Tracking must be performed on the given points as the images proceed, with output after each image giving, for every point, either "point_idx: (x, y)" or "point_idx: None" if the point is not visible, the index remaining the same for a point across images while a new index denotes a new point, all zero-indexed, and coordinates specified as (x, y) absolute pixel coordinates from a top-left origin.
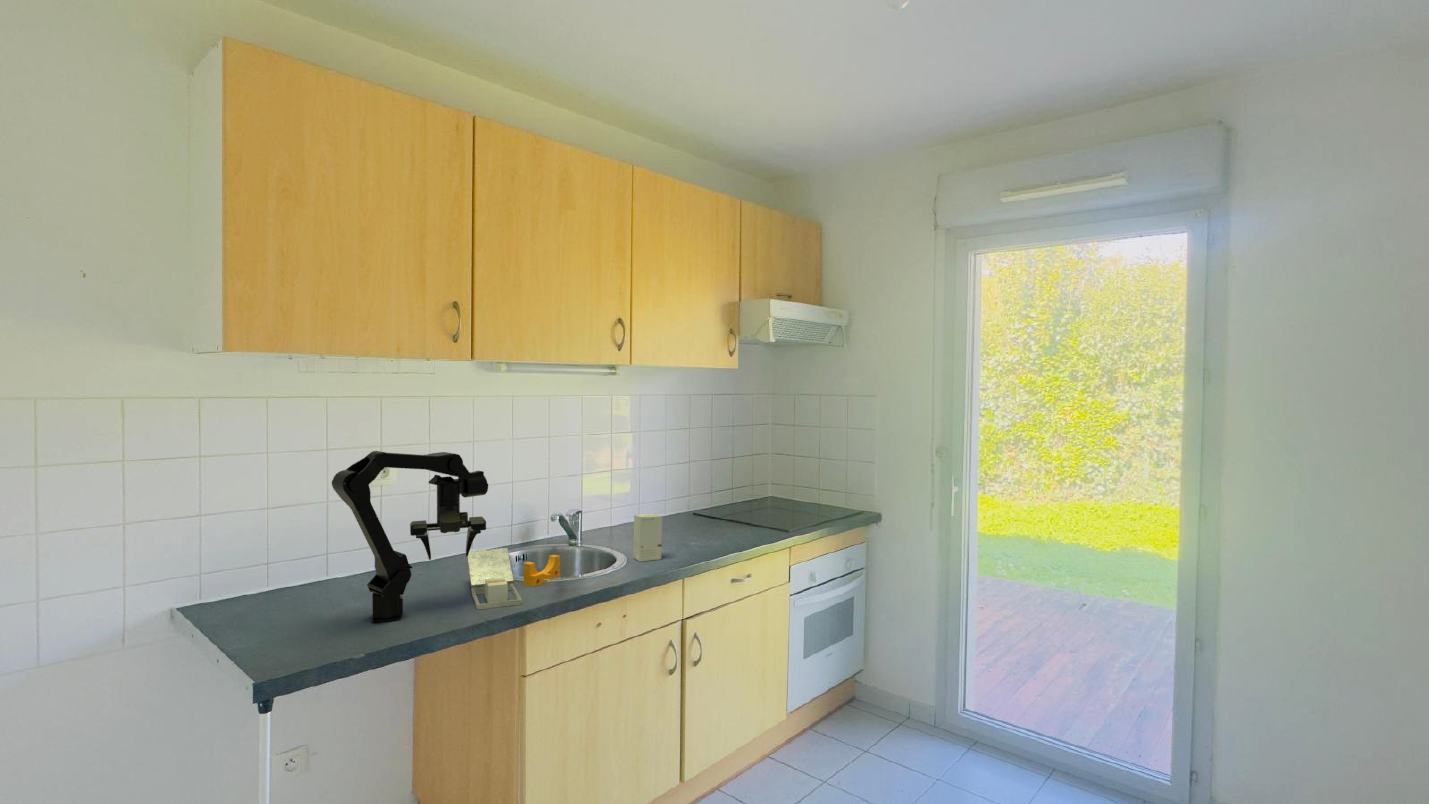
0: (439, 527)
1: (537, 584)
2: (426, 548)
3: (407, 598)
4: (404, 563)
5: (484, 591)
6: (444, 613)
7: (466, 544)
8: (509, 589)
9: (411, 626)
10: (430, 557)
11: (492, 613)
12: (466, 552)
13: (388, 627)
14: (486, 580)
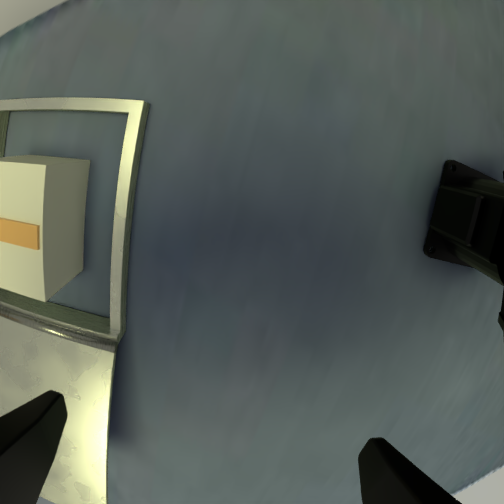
0: None
1: None
2: (451, 501)
3: (342, 392)
4: None
5: (78, 314)
6: (288, 131)
7: (27, 490)
8: (8, 291)
9: (427, 67)
10: (382, 448)
11: (116, 33)
12: (41, 411)
13: (480, 114)
14: (40, 275)
